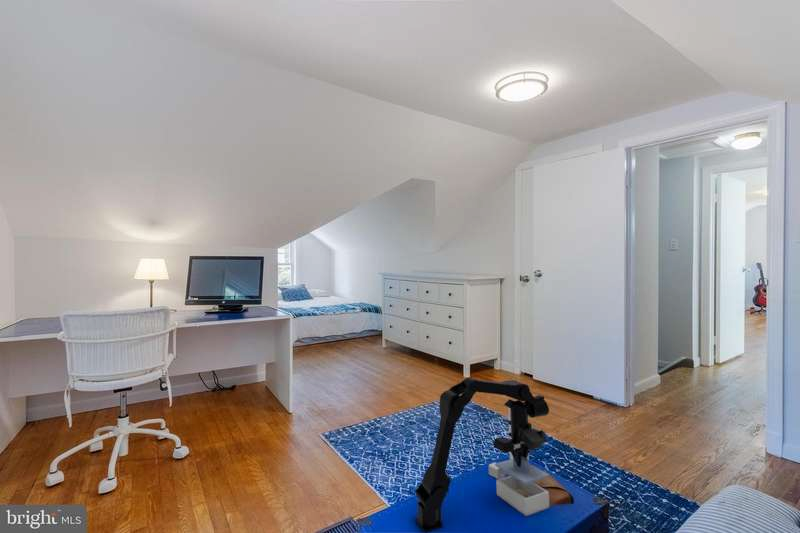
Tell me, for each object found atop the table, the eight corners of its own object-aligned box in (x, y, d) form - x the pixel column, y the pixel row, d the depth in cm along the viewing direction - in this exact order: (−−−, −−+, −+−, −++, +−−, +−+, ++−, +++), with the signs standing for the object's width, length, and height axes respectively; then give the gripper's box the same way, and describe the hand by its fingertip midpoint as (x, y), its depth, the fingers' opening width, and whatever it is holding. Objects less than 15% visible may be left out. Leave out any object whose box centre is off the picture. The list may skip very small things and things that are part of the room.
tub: (526, 516, 120) (525, 499, 120) (496, 494, 133) (496, 480, 133) (549, 507, 124) (548, 491, 125) (518, 487, 137) (518, 473, 137)
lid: (525, 488, 120) (524, 469, 121) (495, 468, 133) (494, 452, 133) (549, 480, 125) (548, 462, 125) (517, 462, 138) (517, 446, 138)
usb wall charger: (495, 472, 149) (495, 461, 149) (510, 479, 143) (509, 468, 143) (488, 475, 146) (488, 464, 147) (503, 482, 141) (503, 471, 141)
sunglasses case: (524, 479, 143) (532, 462, 144) (540, 487, 143) (547, 470, 144) (551, 506, 125) (560, 487, 126) (568, 515, 126) (577, 496, 127)
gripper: (515, 432, 119) (516, 483, 118) (558, 421, 127) (560, 469, 126) (491, 421, 129) (493, 468, 128) (532, 412, 137) (534, 456, 136)
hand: (521, 466), depth 129 cm, fingers closed on lid
